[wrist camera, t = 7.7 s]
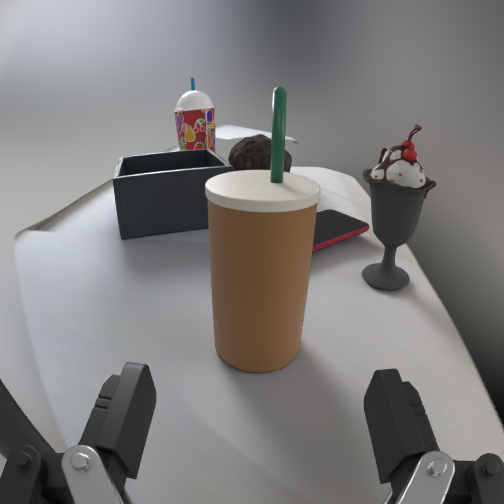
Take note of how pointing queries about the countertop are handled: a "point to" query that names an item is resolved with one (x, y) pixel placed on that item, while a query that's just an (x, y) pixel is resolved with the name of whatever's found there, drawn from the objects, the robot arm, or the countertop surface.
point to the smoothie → (195, 120)
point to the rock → (255, 154)
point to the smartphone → (335, 228)
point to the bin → (164, 191)
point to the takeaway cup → (261, 257)
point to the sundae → (395, 208)
